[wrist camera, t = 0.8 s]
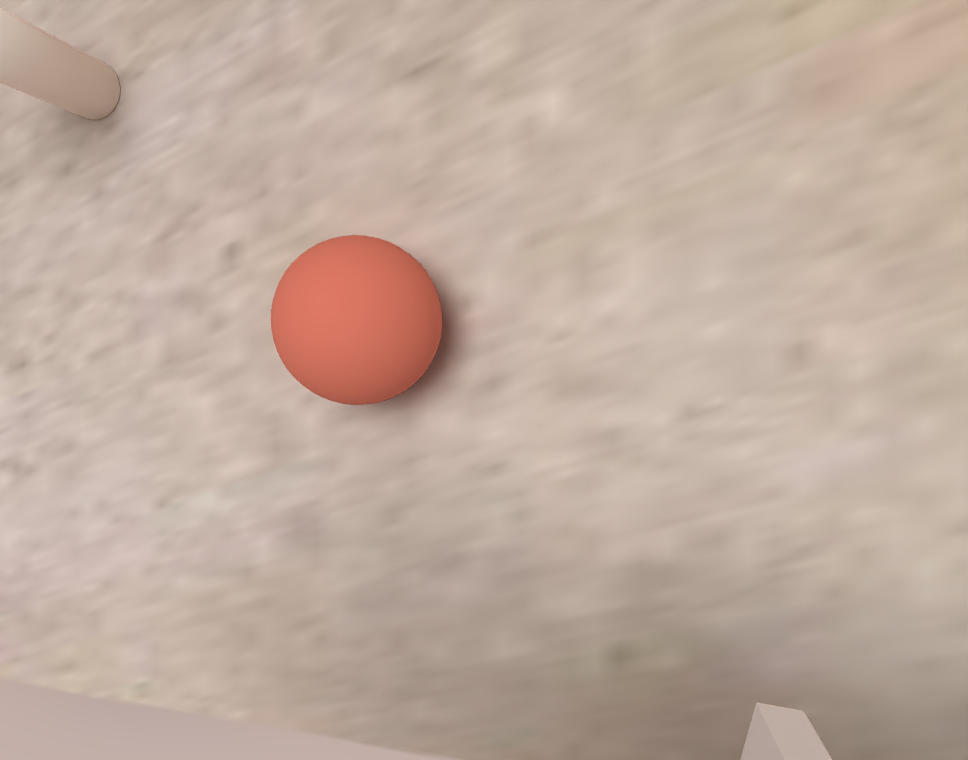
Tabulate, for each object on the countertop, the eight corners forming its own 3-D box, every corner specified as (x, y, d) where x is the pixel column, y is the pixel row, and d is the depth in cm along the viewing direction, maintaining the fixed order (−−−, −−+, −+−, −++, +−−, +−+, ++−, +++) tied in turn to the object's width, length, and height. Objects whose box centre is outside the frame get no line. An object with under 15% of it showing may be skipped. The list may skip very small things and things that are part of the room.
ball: (488, 308, 28) (454, 300, 22) (398, 427, 29) (342, 451, 23) (370, 215, 28) (307, 184, 22) (286, 335, 29) (203, 335, 23)
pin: (131, 82, 30) (-56, -16, 22) (100, 132, 30) (-95, 55, 22) (88, 48, 30) (-113, -62, 22) (58, 98, 31) (-152, 9, 22)
